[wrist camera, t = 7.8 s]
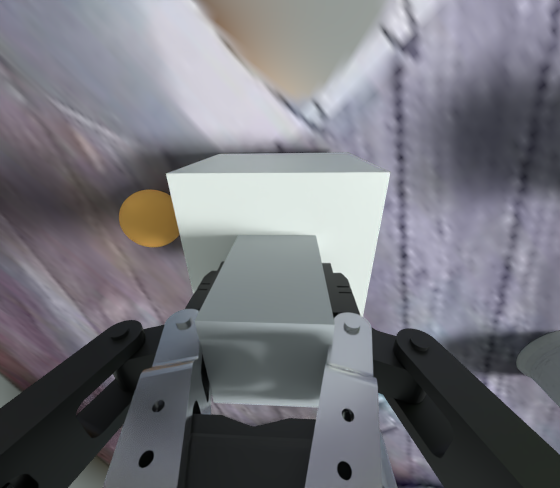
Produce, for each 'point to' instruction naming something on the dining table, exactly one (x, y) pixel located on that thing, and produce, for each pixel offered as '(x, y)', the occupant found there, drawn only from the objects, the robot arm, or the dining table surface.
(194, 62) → the dining table surface
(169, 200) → the ball
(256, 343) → the white grey stepped block
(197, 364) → the robot arm
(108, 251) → the dining table surface
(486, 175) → the dining table surface
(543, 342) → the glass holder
